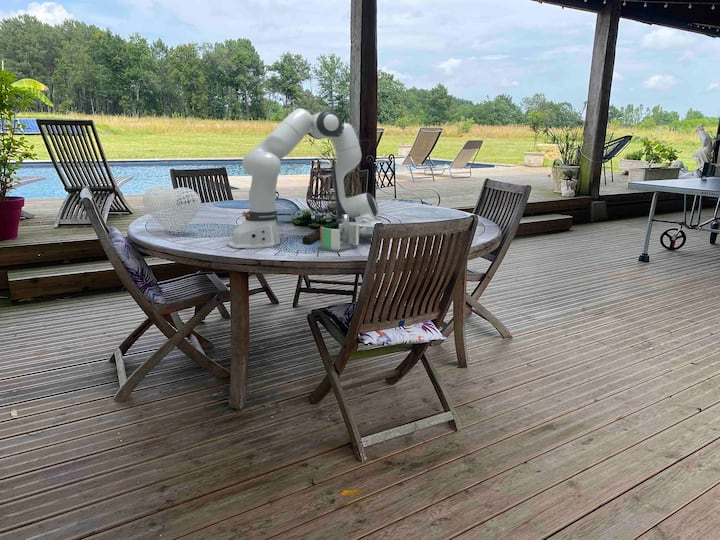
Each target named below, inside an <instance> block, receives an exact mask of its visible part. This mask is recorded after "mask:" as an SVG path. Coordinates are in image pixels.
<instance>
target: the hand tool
mask: <svg viewBox="0 0 720 540" xmlns="http://www.w3.org/2000/svg"><path fill="white" fill-rule="evenodd" d="M317 240H321V239H320V227H319V228H316V229H314V232H312V233H310V234H307V235H305V236H303V237H302V240H301V241H302V244H303V245H305V244H310V245H311V244H312V243H313V242H316V241H317Z"/></svg>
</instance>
